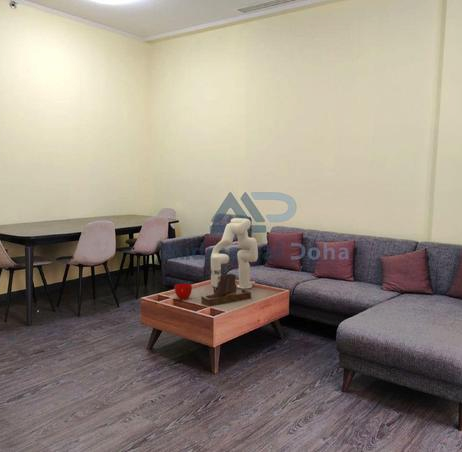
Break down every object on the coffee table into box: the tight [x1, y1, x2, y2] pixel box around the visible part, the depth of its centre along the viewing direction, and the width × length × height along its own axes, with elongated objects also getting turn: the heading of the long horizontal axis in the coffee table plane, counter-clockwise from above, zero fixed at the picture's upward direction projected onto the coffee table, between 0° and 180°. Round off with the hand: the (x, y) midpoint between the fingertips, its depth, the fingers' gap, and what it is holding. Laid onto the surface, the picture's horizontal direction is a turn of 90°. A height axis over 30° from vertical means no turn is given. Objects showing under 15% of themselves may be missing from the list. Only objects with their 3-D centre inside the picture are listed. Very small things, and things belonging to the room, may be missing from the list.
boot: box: [205, 273, 238, 299], centre depth 337 cm, size 9×24×20 cm, turn 104°
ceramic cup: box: [174, 283, 193, 301], centre depth 343 cm, size 13×17×10 cm
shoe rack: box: [200, 289, 252, 307], centre depth 339 cm, size 37×11×5 cm, turn 124°
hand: (216, 295), depth 344 cm, fingers closed
